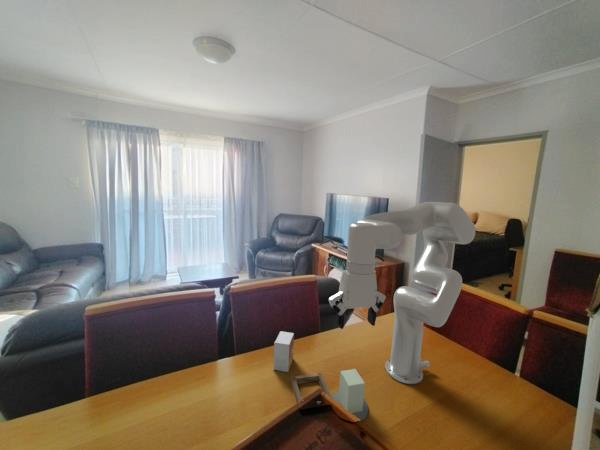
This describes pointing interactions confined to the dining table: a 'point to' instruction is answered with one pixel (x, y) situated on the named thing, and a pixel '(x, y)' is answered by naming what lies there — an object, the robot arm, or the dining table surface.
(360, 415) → the coaster
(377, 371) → the dining table surface
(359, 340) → the dining table surface
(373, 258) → the robot arm
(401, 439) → the dining table surface
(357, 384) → the sage block
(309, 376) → the frame
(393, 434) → the dining table surface
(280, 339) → the small box
